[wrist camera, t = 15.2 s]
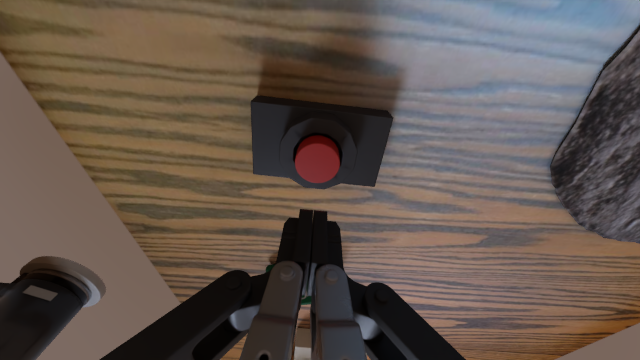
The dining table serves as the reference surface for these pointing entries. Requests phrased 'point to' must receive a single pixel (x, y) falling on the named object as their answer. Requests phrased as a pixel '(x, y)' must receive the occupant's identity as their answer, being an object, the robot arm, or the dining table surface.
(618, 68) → the worn metal disc
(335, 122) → the black switch housing
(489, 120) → the dining table surface
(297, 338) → the stove console
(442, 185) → the dining table surface
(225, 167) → the dining table surface
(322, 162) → the button
